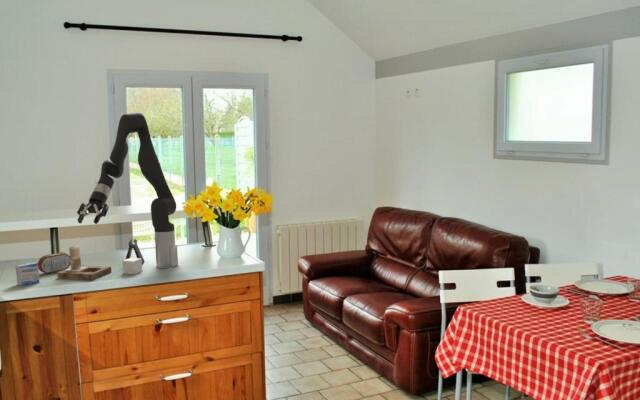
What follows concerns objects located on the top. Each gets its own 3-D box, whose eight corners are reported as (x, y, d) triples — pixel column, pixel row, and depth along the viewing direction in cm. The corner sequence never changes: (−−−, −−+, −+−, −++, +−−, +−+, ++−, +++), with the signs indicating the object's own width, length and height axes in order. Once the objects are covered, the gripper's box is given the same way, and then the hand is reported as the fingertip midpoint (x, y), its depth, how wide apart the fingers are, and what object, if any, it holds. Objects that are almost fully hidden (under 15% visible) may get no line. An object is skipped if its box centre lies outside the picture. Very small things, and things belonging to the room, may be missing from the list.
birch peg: (83, 267, 273) (81, 246, 272) (77, 269, 269) (75, 248, 267) (75, 267, 274) (73, 245, 273) (68, 269, 270) (67, 247, 269)
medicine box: (21, 286, 254) (19, 266, 253) (16, 284, 257) (15, 265, 256) (39, 282, 260) (38, 263, 259) (35, 280, 263) (33, 261, 262)
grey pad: (87, 267, 274) (87, 266, 274) (77, 271, 267) (77, 270, 267) (74, 266, 276) (74, 266, 276) (64, 270, 269) (64, 270, 269)
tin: (69, 267, 285) (67, 250, 284) (72, 268, 283) (71, 251, 282) (38, 274, 273) (36, 256, 272) (41, 275, 271) (39, 257, 270)
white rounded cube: (142, 271, 276) (141, 258, 275) (134, 274, 271) (133, 261, 270) (131, 270, 278) (130, 257, 277) (123, 273, 273) (122, 260, 272)
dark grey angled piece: (123, 265, 286) (121, 241, 285) (125, 262, 292) (124, 238, 291) (142, 264, 288) (141, 240, 286) (144, 261, 293) (143, 238, 292)
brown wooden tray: (111, 271, 275) (111, 266, 275) (92, 280, 262) (92, 274, 261) (77, 270, 280) (77, 264, 279) (57, 278, 266) (57, 272, 266)
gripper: (83, 190, 287) (69, 217, 277) (109, 190, 283) (96, 218, 274) (91, 199, 293) (78, 226, 283) (116, 200, 289) (104, 227, 280)
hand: (87, 222), depth 279 cm, fingers open, 8 cm apart
